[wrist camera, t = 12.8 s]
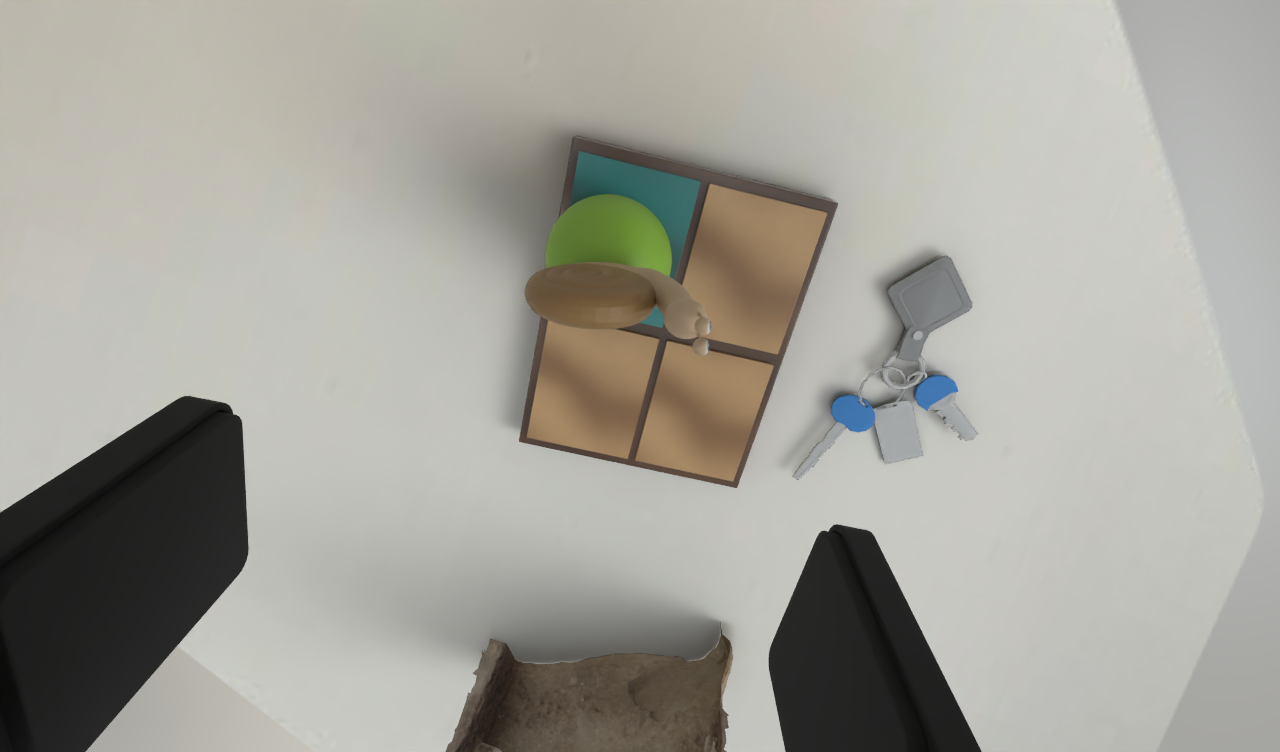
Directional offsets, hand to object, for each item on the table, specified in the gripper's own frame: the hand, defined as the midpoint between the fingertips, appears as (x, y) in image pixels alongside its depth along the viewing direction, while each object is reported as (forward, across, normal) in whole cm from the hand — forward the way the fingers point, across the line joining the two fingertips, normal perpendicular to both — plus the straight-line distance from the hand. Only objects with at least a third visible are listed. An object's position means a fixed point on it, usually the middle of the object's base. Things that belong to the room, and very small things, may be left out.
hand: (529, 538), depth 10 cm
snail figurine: (+21, -1, 0) cm, 21 cm away
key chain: (+22, -17, +4) cm, 29 cm away
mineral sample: (+22, -5, +27) cm, 35 cm away
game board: (+22, -4, +4) cm, 23 cm away
